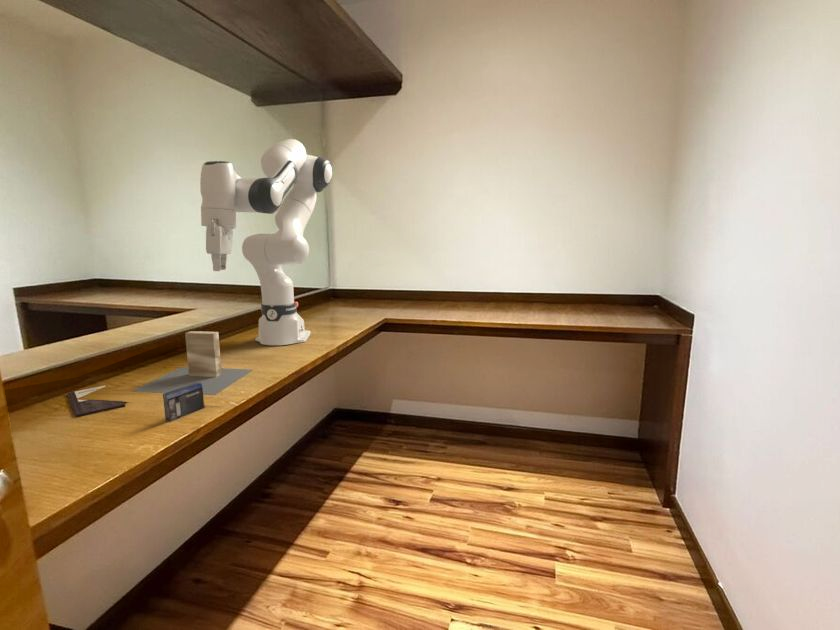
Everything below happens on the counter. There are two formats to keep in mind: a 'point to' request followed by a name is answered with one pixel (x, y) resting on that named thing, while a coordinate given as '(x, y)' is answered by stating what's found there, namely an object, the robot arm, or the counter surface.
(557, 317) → the counter surface
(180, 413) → the mini dv tape
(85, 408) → the chocolate bar
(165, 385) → the mat
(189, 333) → the wooden block
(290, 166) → the robot arm
